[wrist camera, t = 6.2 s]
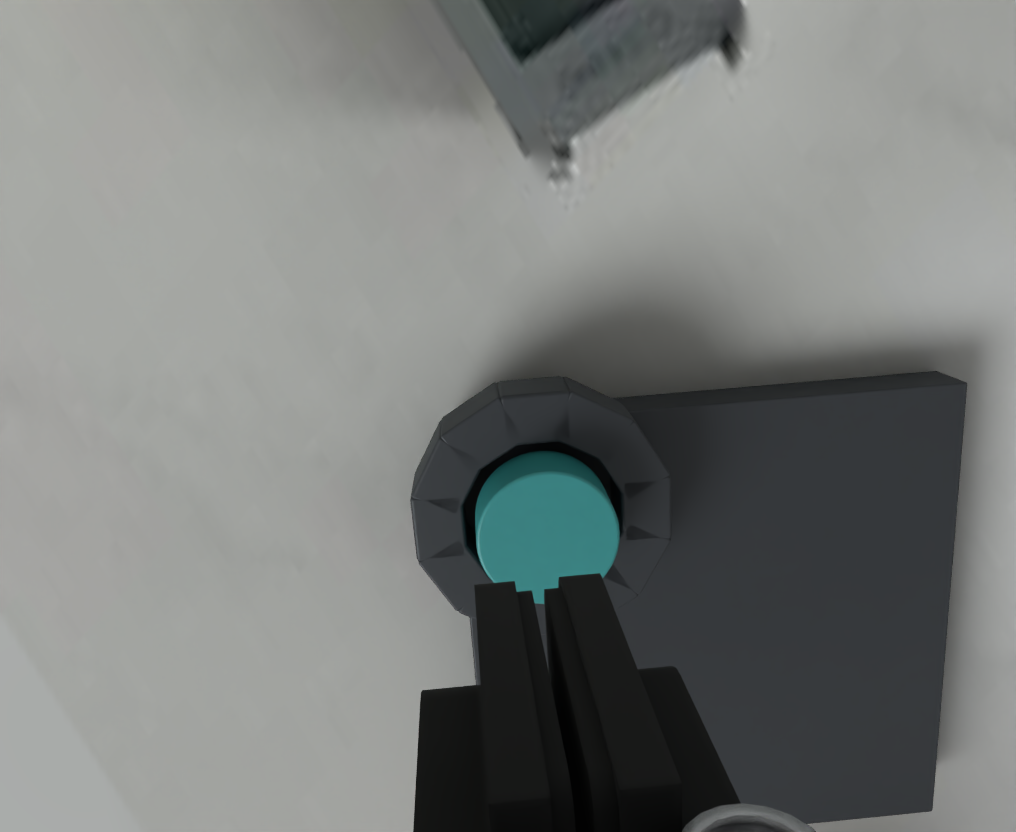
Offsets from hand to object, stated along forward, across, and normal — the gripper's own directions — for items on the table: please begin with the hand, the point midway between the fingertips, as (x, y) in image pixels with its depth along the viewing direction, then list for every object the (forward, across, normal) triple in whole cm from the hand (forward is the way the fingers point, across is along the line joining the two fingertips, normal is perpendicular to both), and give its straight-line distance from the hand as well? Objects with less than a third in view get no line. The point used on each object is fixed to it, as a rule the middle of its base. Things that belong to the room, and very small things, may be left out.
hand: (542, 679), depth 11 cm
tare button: (+9, -1, +1) cm, 9 cm away
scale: (+11, -6, +6) cm, 14 cm away
